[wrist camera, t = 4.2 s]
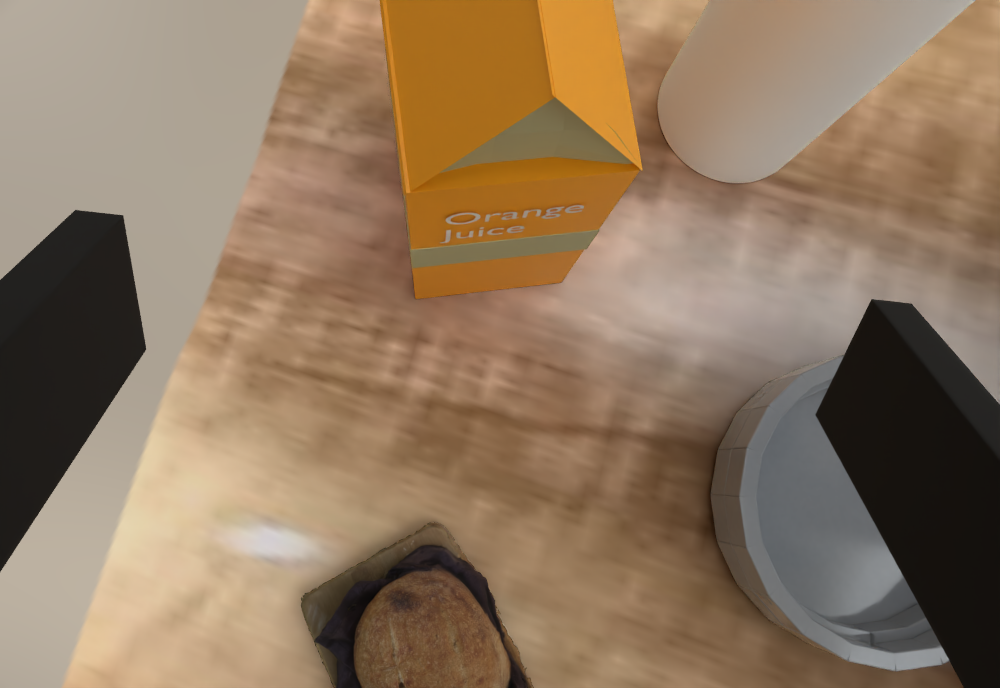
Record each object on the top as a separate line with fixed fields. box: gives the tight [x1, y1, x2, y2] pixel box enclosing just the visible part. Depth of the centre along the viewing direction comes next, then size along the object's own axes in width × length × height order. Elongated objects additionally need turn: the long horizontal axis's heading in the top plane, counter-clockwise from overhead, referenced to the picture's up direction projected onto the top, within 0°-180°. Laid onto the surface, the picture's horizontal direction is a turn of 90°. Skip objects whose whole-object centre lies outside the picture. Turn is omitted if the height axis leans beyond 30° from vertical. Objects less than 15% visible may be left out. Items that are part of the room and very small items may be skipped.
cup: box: [657, 0, 975, 183], centre depth 33 cm, size 8×8×16 cm
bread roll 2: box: [301, 522, 534, 688], centre depth 33 cm, size 11×8×4 cm
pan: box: [711, 355, 949, 672], centre depth 36 cm, size 14×14×4 cm
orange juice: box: [380, 0, 643, 299], centre depth 29 cm, size 8×9×20 cm
